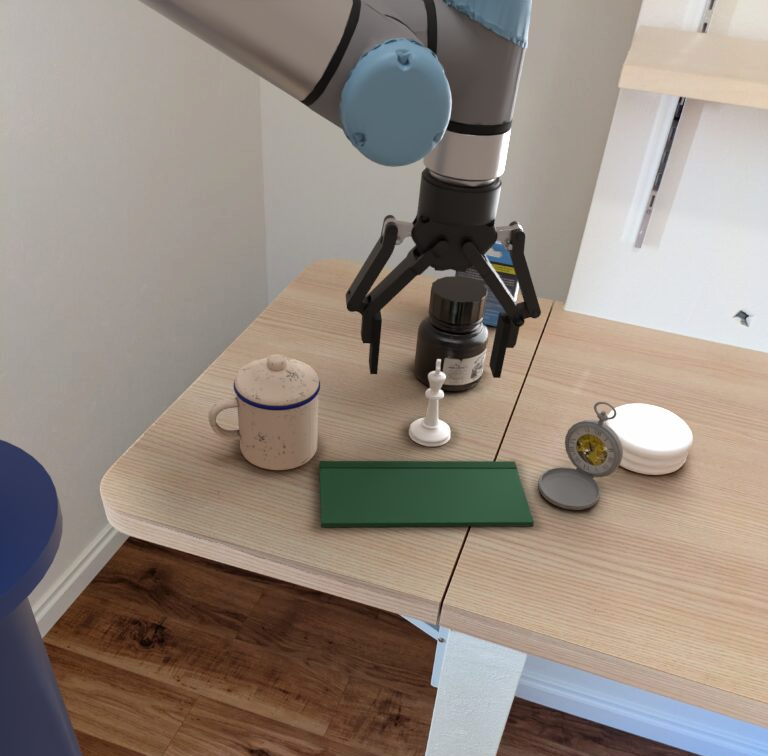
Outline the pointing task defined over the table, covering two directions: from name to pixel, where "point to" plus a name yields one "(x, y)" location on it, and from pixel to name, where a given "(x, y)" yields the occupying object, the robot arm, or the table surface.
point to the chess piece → (431, 414)
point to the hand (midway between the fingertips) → (434, 369)
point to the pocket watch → (583, 463)
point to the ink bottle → (453, 333)
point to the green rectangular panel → (422, 494)
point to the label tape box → (507, 276)
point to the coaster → (651, 438)
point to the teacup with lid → (274, 412)
